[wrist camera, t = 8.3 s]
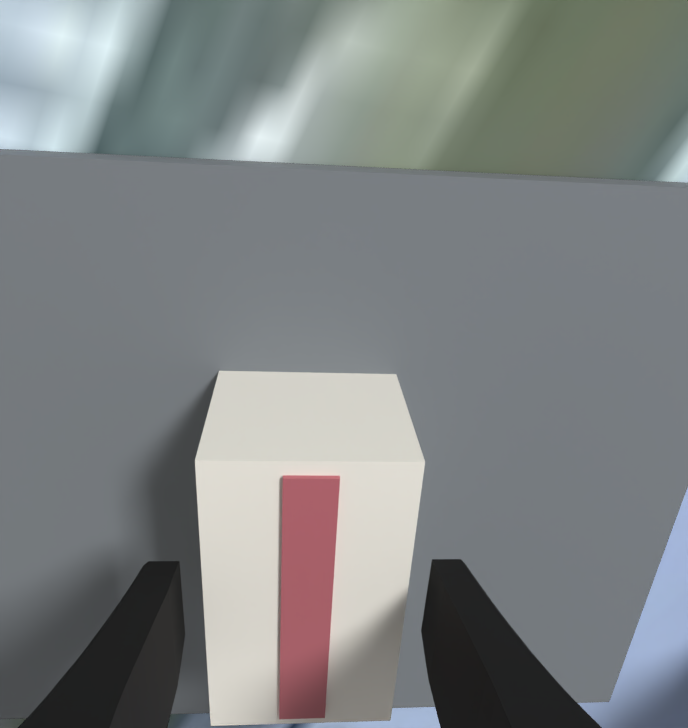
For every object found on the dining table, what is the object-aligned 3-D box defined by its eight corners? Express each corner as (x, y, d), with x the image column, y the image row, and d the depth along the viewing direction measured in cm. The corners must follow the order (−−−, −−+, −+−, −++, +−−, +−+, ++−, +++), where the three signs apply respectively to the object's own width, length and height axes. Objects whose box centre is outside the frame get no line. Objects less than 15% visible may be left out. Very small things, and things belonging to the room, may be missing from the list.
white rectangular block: (373, 599, 17) (391, 724, 14) (227, 601, 16) (210, 730, 13) (396, 374, 14) (426, 465, 11) (218, 370, 13) (193, 464, 10)
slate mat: (767, 186, 13) (794, 193, 13) (597, 679, 20) (609, 701, 19) (-204, 138, 12) (-237, 143, 11) (-31, 695, 18) (-44, 720, 18)
